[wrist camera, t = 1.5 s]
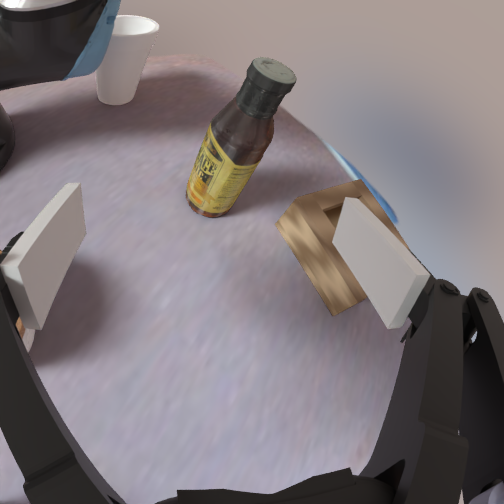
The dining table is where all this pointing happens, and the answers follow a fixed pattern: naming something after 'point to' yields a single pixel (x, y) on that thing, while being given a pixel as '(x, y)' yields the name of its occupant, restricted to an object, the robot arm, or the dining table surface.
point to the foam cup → (125, 58)
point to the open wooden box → (328, 241)
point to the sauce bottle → (238, 138)
